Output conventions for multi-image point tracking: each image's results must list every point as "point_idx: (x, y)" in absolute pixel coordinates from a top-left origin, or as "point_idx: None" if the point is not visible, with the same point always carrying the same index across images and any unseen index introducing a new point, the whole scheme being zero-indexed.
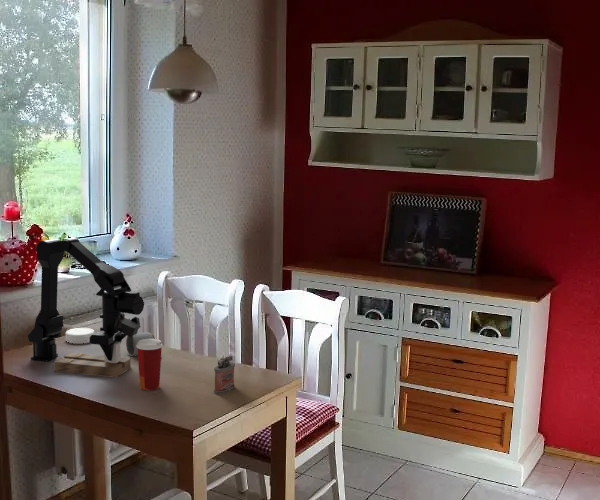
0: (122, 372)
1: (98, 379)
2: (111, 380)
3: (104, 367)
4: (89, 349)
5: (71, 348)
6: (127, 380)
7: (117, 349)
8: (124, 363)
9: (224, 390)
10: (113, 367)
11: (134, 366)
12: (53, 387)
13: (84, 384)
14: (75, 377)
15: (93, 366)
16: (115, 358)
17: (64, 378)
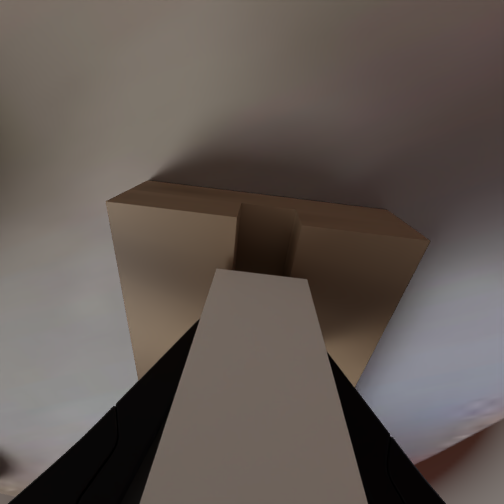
0: (288, 199)
1: (415, 300)
2: (449, 223)
3: (379, 328)
4: (8, 422)
5: (41, 458)
6: (477, 92)
7: (292, 407)
8: (238, 217)
9: None
10: (406, 269)
11: (112, 157)
12: (500, 419)
13: (493, 337)
14: (371, 389)
15: (352, 384)
16: (313, 317)
17: (382, 414)
